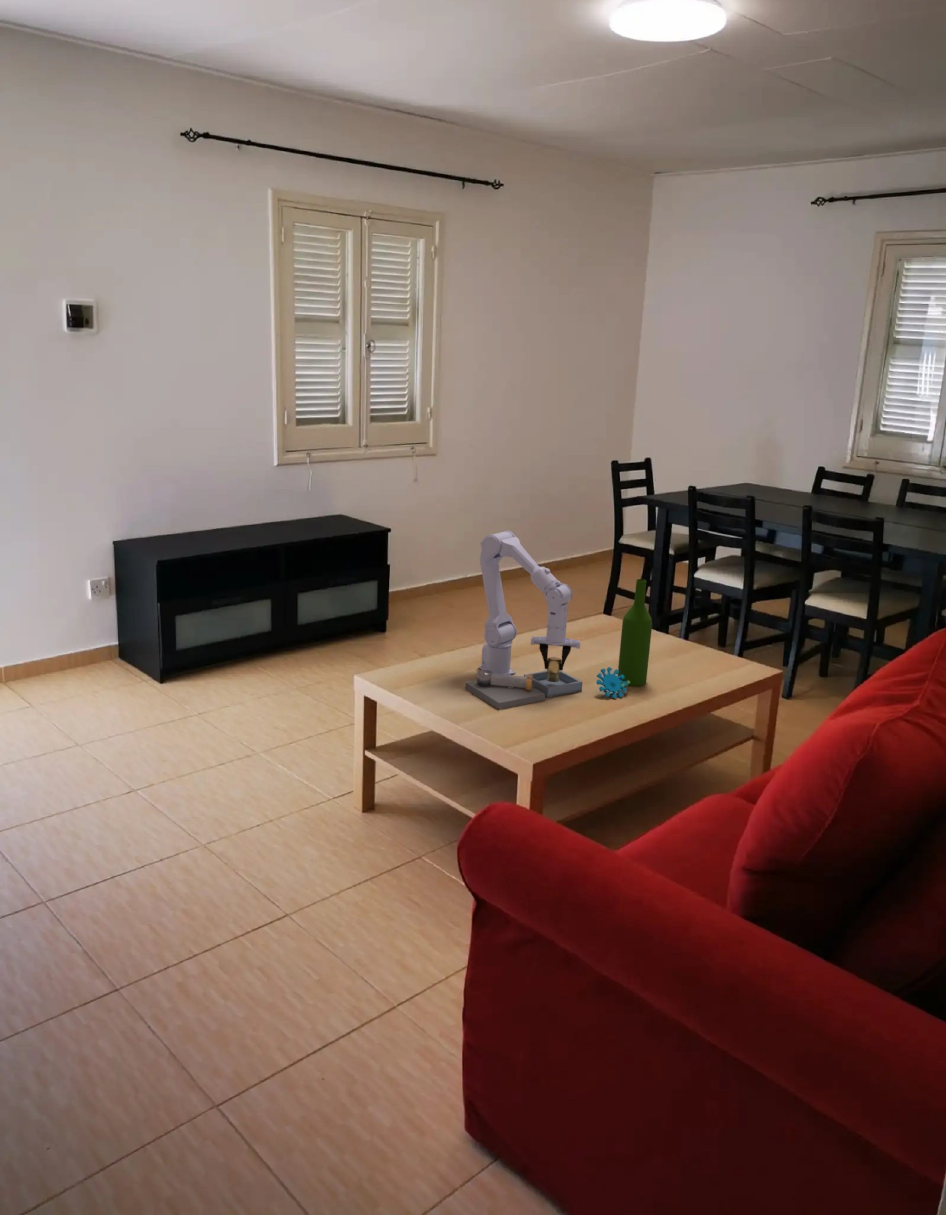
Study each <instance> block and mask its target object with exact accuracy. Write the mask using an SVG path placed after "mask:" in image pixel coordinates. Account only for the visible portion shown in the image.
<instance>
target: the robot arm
mask: <svg viewBox="0 0 946 1215" xmlns="http://www.w3.org/2000/svg"><path fill="white" fill-rule="evenodd" d="M480 547H481V552H480V555H479V556H480V557H479V564H480V565H479V566H480V570H481V575H482V581H483V588H484V593H485V594H484V595H485V598H486V606H487V610H488V611H487V612H488V617H487V619H486V620H485V622H484V632H483V635H484V636H483V638H484V641H485V643H484V644H483V646H482V648H481V662H480V663H481V665H479V666H478V668H479V669H480V670H489V671H491V672H492V674H503V675H509V674H511V675H515V674H516V671H515V670H513V669H512V668H511V661H512V660H511V658H512V644H513V641H514V640H515V639H516V637H517V634H518V632H517V626H516V625H515V624H514V622H513V618H512V616H511V615H510V614H508V613H507V607H506V606H507V605H506V600H505V596H504V590H503V583H502V576H501V572H500V565H499V563H500V562H501V560H502V559H503V558H504V557H506V558H507V557H508V558H512V559H513V560H515V561H516V562H517V564H519V566H521V567H522V568H523V569H524V570H525V571H526V572H528V573H529V574H530V581H531V582H532V583H533V585H535V587H537V589H539V591H541V593H542V594H543V595H544V599H545V602H546V604H547V622H546V623H547V624H546V636H531V638H530V645H533V646H534V645H538V646H539V651H540V654H541V656H542V660H543V664H544V666H543V667H544V670H547V663H548V658H549V657H548V655H549V646H550V647H562V650H561V667H560V670H561V671H563V669H564V665H565V664H566V663H565V662H566V660H567V658H568V656H569V655H570V653H571V650H572V648H575V649H577V650H578V649H579V650H580V648H581V640H580V639H579V640H578V639H577V640H576V639H572V638H567V636H566V635H567V626H568V625H567V624H568V610H569V609H568V608H569V602H571V600H572V599H573V591H572V589H571V587H570V586H569V585H568V584H567V583H562V582H561V581H560V580H559V579H557V578H556V577H555V575H553V574H552V572H551V570H550V568H546V567H545V566H539V565H538V564H537V562H536V561H535V560H534V558H533V557H531V555H530V554H529V553H528V552H527V551H526V549H525V548H524V546H522V544H521V541H520V539H519V538H518V537H517V536H516V535H515V534H514V533H513V532H512V531H511V530H503V531H501V532H497V533H491V534H487V535H486V536H485V537H484V538H483V539H482V541H481V542H480Z"/></svg>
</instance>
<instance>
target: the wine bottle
mask: <svg viewBox="0 0 946 1215" xmlns="http://www.w3.org/2000/svg"><path fill="white" fill-rule="evenodd" d="M646 587H647V580H646V579H643V578H638V579H636V582H635V592H634V600H633V603H632V606H631V607H630V608H629V609H628V610H627V611H626V613H625V614H624V616H623V618H622V623H621V624H622V625H621V634H620V644H619V645H620V647H619V654H618V656H619V657H618V666H617V670H618V671H619V673H618V674H617V676H621V675H622V674H623V675H624V677H625V678H624V679H620V678H619V679H620V680H621V681H626V682H627V681H628V680H629V681H630V684H629V685H627V686H626V687H634V688H635V687H638V688H639V687H643V686H645V685H646V683H647V680H648V678H647V677H648V668H649V661H650V660H649V657H650V648H651V638H652V631H653V630H652V629H653V621H652V616H651V615H650V613H649V611H648V609H647V607H646V605H645V603H646V602H645V601H646Z"/></svg>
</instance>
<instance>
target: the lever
mask: <svg viewBox="0 0 946 1215" xmlns="http://www.w3.org/2000/svg"><path fill="white" fill-rule="evenodd" d="M476 677H477V678H476V680H477V684H478V685H480V686H490V685H499V686H510V688H511V687H522V688H526V690H531V688H532V682H533V675H527V677H526V676H524V675H515V674H511V675H503V674H492V672H491V671H489V670H482V669H480V670H477V676H476Z"/></svg>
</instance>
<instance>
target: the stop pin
mask: <svg viewBox="0 0 946 1215" xmlns="http://www.w3.org/2000/svg"><path fill="white" fill-rule="evenodd" d="M561 661H562V658H560V657H557V656H550V657H548V663H547V669H546V671H547V675H546V680H547V681H550V682H558V681H559V679H560V667H561Z"/></svg>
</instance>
